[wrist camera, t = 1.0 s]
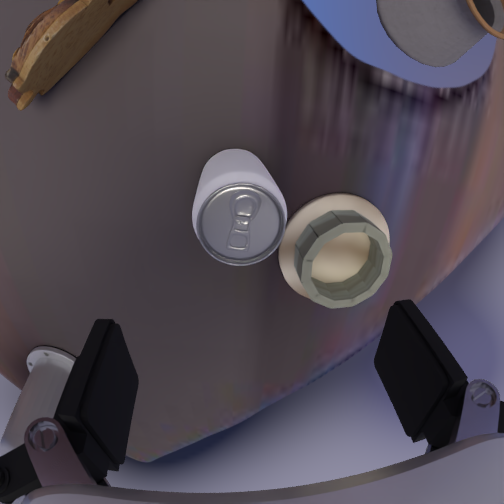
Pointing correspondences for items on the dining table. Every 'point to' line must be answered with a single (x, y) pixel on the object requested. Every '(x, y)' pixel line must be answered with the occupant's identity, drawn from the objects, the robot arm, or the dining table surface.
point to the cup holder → (336, 250)
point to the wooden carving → (58, 44)
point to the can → (238, 209)
